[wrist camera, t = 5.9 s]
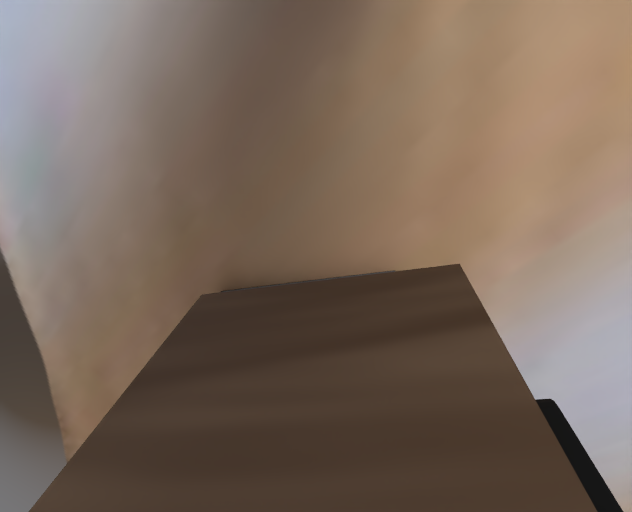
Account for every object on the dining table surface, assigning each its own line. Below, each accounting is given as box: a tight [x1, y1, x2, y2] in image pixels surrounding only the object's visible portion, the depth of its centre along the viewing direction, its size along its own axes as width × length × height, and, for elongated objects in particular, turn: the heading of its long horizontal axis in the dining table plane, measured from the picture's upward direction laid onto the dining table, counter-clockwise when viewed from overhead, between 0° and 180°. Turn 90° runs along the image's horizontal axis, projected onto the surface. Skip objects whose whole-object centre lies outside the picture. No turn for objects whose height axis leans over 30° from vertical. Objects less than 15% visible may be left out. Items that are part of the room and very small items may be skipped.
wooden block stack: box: [29, 264, 597, 512], centre depth 8 cm, size 6×6×6 cm
